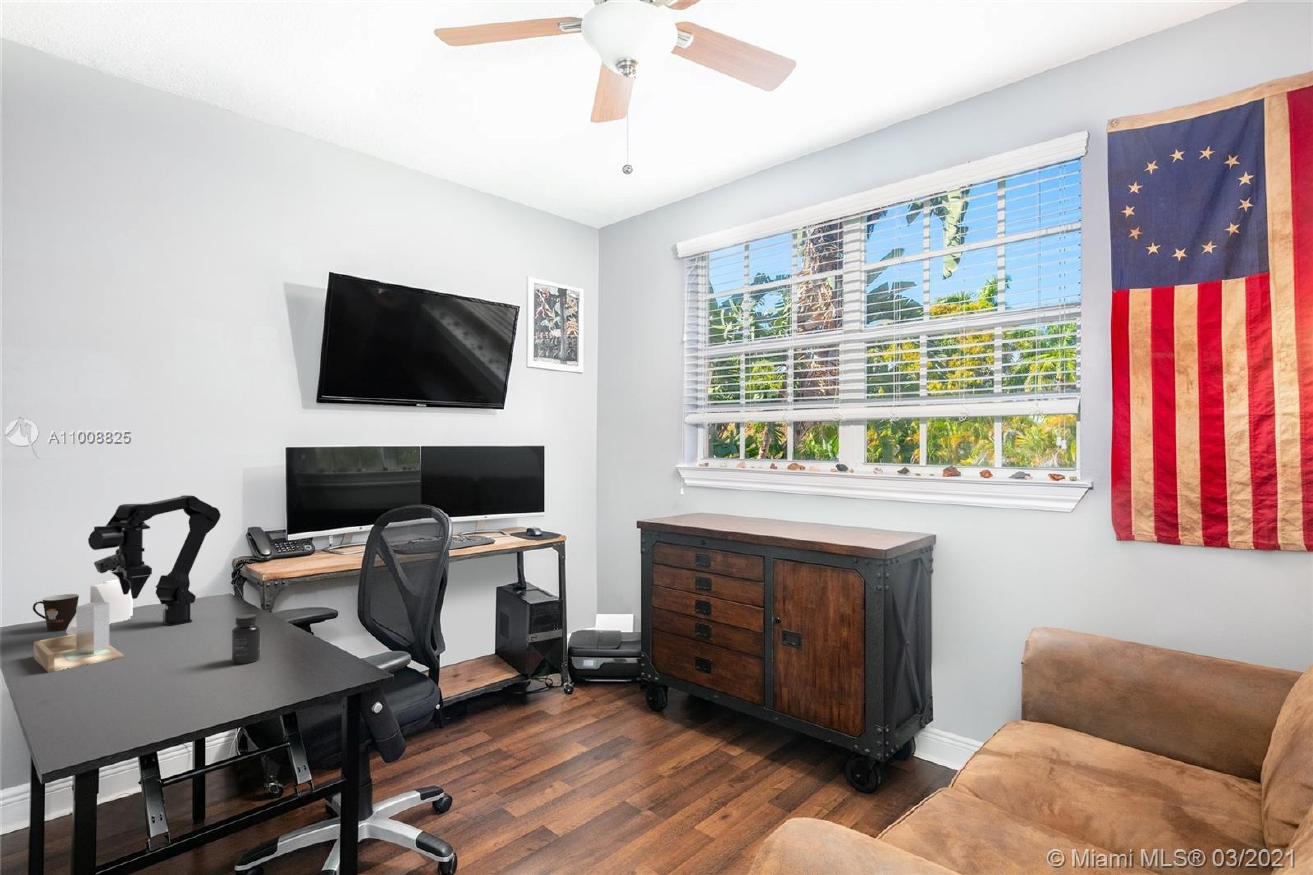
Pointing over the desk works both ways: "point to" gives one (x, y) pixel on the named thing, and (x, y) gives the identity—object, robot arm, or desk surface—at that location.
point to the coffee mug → (58, 611)
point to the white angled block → (113, 600)
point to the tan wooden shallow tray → (67, 654)
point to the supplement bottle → (246, 640)
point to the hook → (72, 627)
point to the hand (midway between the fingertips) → (130, 596)
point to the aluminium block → (92, 627)
